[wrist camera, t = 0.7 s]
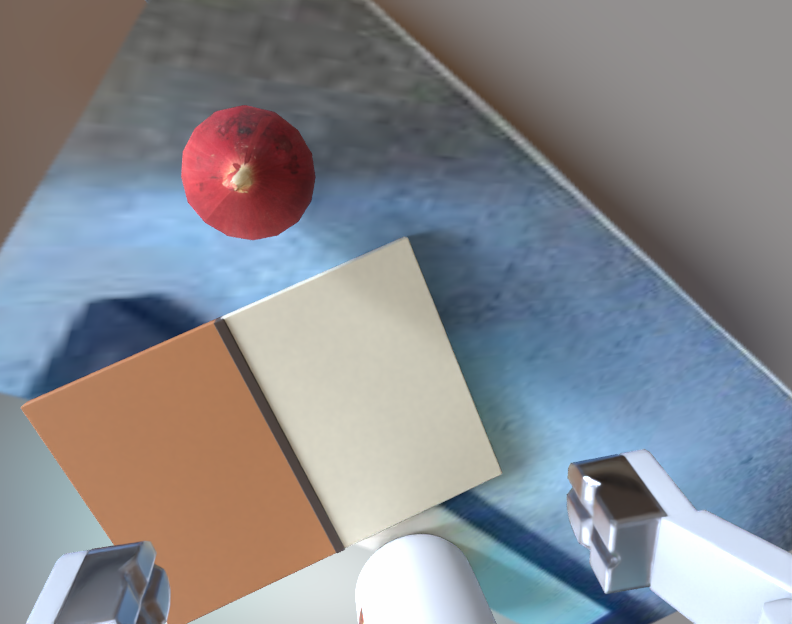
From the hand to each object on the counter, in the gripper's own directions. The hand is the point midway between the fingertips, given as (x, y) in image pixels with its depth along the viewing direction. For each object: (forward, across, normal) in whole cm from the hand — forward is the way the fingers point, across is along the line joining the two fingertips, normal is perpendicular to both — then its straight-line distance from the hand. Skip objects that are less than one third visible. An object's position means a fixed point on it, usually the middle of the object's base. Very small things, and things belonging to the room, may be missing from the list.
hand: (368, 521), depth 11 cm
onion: (+22, +4, -2) cm, 22 cm away
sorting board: (+18, +5, +12) cm, 22 cm away
